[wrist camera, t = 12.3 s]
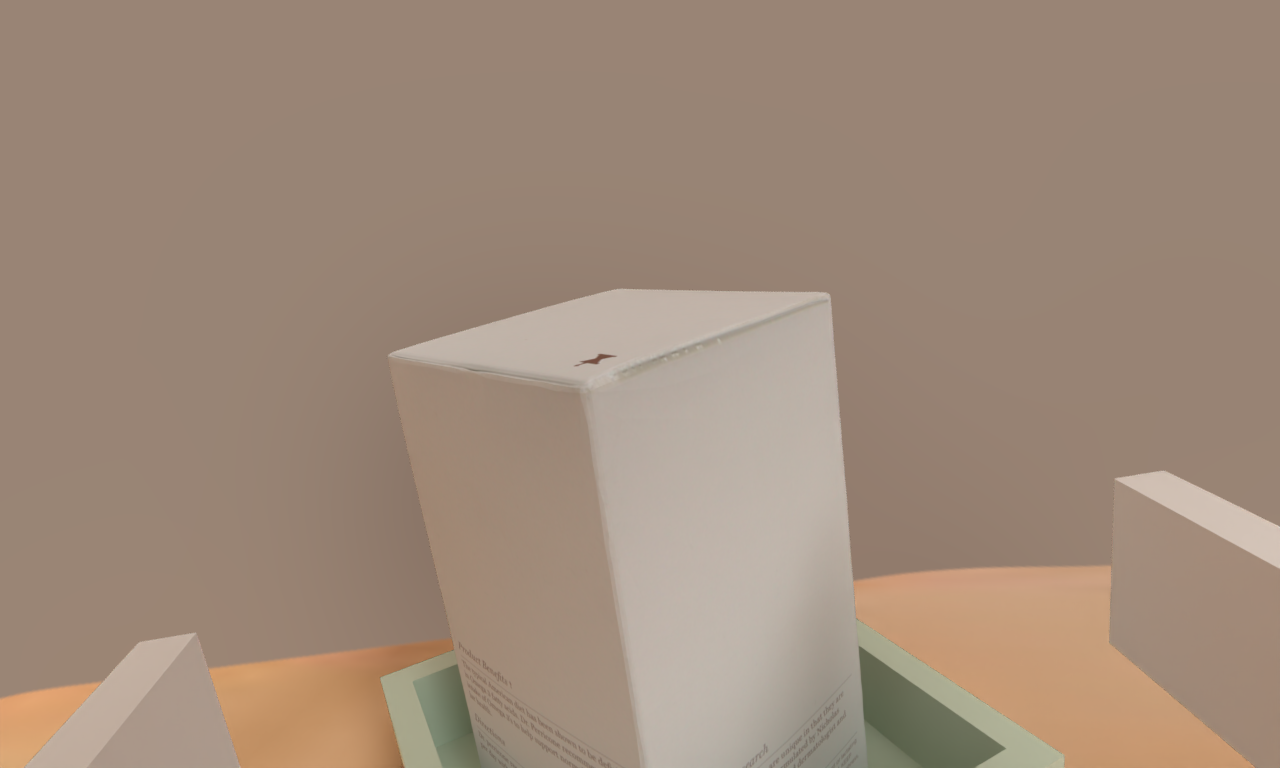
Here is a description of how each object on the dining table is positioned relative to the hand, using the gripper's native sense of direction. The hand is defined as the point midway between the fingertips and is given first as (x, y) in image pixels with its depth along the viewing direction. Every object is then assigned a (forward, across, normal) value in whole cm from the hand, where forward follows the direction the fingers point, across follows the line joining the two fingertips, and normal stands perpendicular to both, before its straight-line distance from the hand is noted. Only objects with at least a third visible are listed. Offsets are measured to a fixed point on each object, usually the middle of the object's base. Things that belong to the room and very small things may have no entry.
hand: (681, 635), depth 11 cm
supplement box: (+7, 0, -9) cm, 12 cm away
